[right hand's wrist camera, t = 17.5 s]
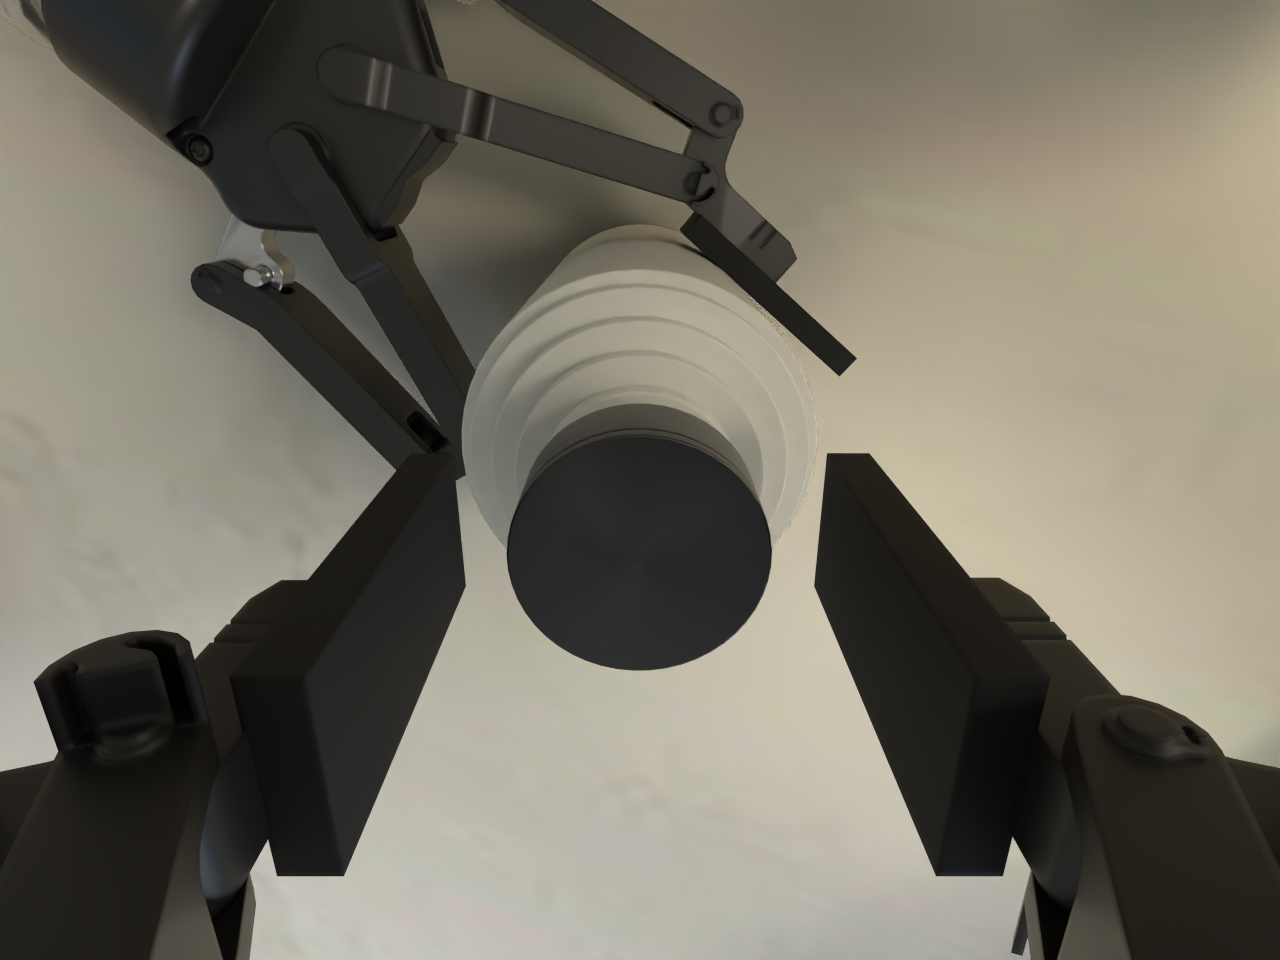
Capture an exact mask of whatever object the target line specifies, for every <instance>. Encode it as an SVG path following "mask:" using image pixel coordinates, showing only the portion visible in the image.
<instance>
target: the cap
mask: <svg viewBox="0 0 1280 960" xmlns="http://www.w3.org/2000/svg"><path fill="white" fill-rule="evenodd" d="M771 558H772V546H771V535H770V531H769V527H768V523H767V519H766V516H765V513H764V511H763V508H762V505H761V502H760V500H759V497H758V494H757V491H756V489H755V486H754V483H753V480H752V478H751V475H750V473H749V471H748V468H747V466H746V464H745V463H744V461H743V459H742V457H741V456H740V454H739V453H738V451H737V450H736V449H735V448H734V446H733V445H732V444H731V443H730V442H729V441H728V440H727V439H726V438H725V437H724V436H723V435H722V434H721V433H720V432H719V431H718V430H716V429H715V428H713V427H712V426H711V425H709V424H708V423H707V422H705V421H703V420H701V419H699V418H697V417H696V416H694V415H692V414H689V413H686V412H684V411H681V410H679V409H675V408H671V407H667V406H663V405H655V404H646V403H644V404H624V405H617V406H611V407H608V408H604V409H600V410H597V411H595V412H592V413H590V414H588V415H585V416H583V417H581V418H579V419H578V420H576V421H574V422H572V423H571V424H569V425H568V426H566V427H565V428H564V429H563V430H561V431H560V432H559V433H557V434H556V435H555V436H554V437H553V438H552V439H551V440H550V441H549V442H548V444H547V445H546V446H545V447H544V448H543V450H542V451H541V453H540V454H539V455H538V457H537V458H536V460H535V462H534V464H533V466H532V468H531V469H530V472H529V475H528V477H527V480H526V483H525V486H524V488H523V491H522V494H521V496H520V499H519V502H518V505H517V507H516V510H515V513H514V515H513V518H512V521H511V524H510V529H509V534H508V539H507V563H508V571H509V575H510V579H511V584H512V586H513V589H514V591H515V594H516V596H517V599H518V601H519V602H520V604H521V606H522V608H523V609H524V611H525V613H526V614H527V615H528V617H529V618H530V619H531V621H532V622H533V623H534V625H535V626H536V627H537V628H538V629H539V630H540V631H541V632H542V633H543V634H544V635H545V636H546V637H548V638H549V639H550V640H551V641H553V642H554V643H555V644H556V645H558V646H559V647H561V648H563V649H564V650H566V651H567V652H569V653H571V654H573V655H575V656H577V657H579V658H581V659H584V660H586V661H589V662H592V663H595V664H598V665H601V666H605V667H610V668H615V669H623V670H656V669H664V668H669V667H673V666H677V665H681V664H684V663H687V662H690V661H692V660H695V659H698V658H700V657H702V656H704V655H706V654H708V653H710V652H711V651H713V650H715V649H716V648H718V647H719V646H721V645H722V644H724V643H725V642H726V641H727V640H729V639H730V638H731V637H732V636H733V635H734V634H736V633H737V632H738V631H739V629H740V628H741V627H742V626H743V625H744V624H745V623H746V622H747V620H748V619H749V618H750V616H751V615H752V613H753V612H754V611H755V609H756V607H757V605H758V603H759V602H760V600H761V598H762V596H763V593H764V591H765V588H766V585H767V582H768V578H769V573H770V568H771Z"/></svg>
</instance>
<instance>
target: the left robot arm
mask: <svg viewBox="0 0 1280 960" xmlns="http://www.w3.org/2000/svg"><path fill="white" fill-rule="evenodd" d="M457 1H459V2H460V3H463V4H470V5H472V4H475V3H478V2H479V1H480V0H457ZM495 1H496V2H497V3H498V4H499V5H500V6H501V7H502V8H504V9H505V10H506V11H507V12H508V13H510V14H511V15H512V16H514V17H515V18H517V19H518V20H519V21H521V22H522V23H524V24H525V25H527V26H529V27H530V28H532V29H533V30H535V31H536V32H538V33H540V34H541V35H543V36H544V37H546V38H547V39H549V40H551V41H552V42H554V43H555V44H557V45H558V46H560V47H562V48H563V49H565V50H566V51H568V52H569V53H571V54H572V55H574V56H576V57H577V58H579V59H580V60H582V61H583V62H585V63H587V64H588V65H590V66H591V67H593V68H594V69H596V70H598V71H599V72H601V73H602V74H604V75H605V76H607V77H609V78H610V79H612V80H613V81H615V82H616V83H618V84H620V85H621V86H623V87H624V88H626V89H627V90H629V91H631V92H632V93H634V94H635V95H637V96H638V97H640V98H642V99H643V100H645V101H646V102H648V103H649V104H651V105H653V106H654V107H656V108H657V109H659V110H660V111H662V112H664V113H665V114H667V115H668V116H670V117H671V118H673V119H674V120H676V121H678V122H679V123H681V124H682V125H684V126H685V127H687V128H689V129H690V133H689V136H688V139H687V142H686V144H685V147H684V150H683V153H682V155H681V154H678V153H674V152H671V151H668V150H665V149H662V148H658V147H655V146H652V145H649V144H646V143H643V142H639V141H636V140H633V139H630V138H627V137H623V136H620V135H617V134H614V133H611V132H607V131H604V130H601V129H598V128H595V127H592V126H588V125H585V124H582V123H579V122H576V121H572V120H569V119H566V118H563V117H560V116H556V115H553V114H550V113H547V112H544V111H541V110H537V109H534V108H531V107H528V106H525V105H521V104H518V103H515V102H512V101H509V100H505V99H502V98H499V97H496V96H493V95H490V94H487V93H484V92H481V91H478V90H475V89H472V88H469V87H466V86H463V85H460V84H457V83H453V82H450V81H448V79H447V76H446V72H445V69H444V66H443V62H442V59H441V56H440V52H439V49H438V46H437V42H436V39H435V36H434V32H433V29H432V26H431V22H430V19H429V16H428V12H427V9H426V6H425V2H424V0H0V16H1V17H3V18H4V19H5V20H6V21H8V22H9V23H10V24H11V25H13V26H14V27H15V28H16V29H18V30H19V31H20V32H22V33H23V34H24V35H26V36H27V37H28V38H30V39H31V40H32V41H34V42H35V43H36V44H38V45H41V46H44V47H47V48H50V49H52V50H54V51H55V52H56V54H57V55H58V57H59V58H60V60H61V61H62V62H63V63H64V64H65V65H66V66H67V67H68V68H69V69H70V70H71V71H72V72H74V73H75V74H76V75H77V76H79V77H80V78H81V79H83V80H84V81H85V82H87V83H88V84H89V85H90V86H92V87H93V88H94V89H96V90H97V91H98V92H99V93H101V94H102V95H103V96H105V97H106V98H107V99H108V100H110V101H111V102H112V103H114V104H115V105H116V106H117V107H119V108H120V109H121V110H123V111H124V112H125V113H126V114H128V115H129V116H130V117H132V118H133V119H134V120H135V121H137V122H138V123H139V124H141V125H142V126H143V127H144V128H146V129H147V130H148V131H150V132H151V133H152V134H154V135H155V136H156V137H157V138H159V139H160V140H161V141H163V142H164V143H165V144H166V145H168V146H169V147H170V148H172V149H173V150H174V151H176V152H177V153H179V154H180V155H181V156H183V157H184V158H186V159H187V160H189V161H190V162H191V163H193V164H194V165H196V166H197V167H198V168H199V169H201V170H202V171H203V172H204V173H205V174H206V176H207V177H208V178H209V179H210V180H211V182H212V183H213V185H214V186H215V188H216V189H217V191H218V193H219V194H220V196H221V198H222V200H223V202H224V204H225V205H226V207H227V208H228V210H229V211H230V212H231V213H232V216H231V218H230V221H229V223H228V226H227V229H226V231H225V234H224V237H223V239H222V242H221V245H220V247H219V250H218V252H217V255H216V258H215V260H214V261H213V262H211V263H206V264H202V265H200V266H198V267H196V268H195V270H194V271H193V273H192V275H191V285H192V288H193V290H194V292H195V293H196V295H197V296H198V297H199V298H200V299H202V300H203V301H204V302H206V303H208V304H210V305H212V306H213V307H215V308H217V309H219V310H221V311H223V312H225V313H226V314H228V315H230V316H232V317H234V318H236V319H237V320H239V321H241V322H243V323H245V324H247V325H249V326H250V327H252V328H254V329H256V330H257V331H258V332H259V333H260V334H261V335H262V336H263V337H264V338H265V339H266V340H267V341H268V342H269V343H270V344H271V345H272V346H273V347H274V348H275V349H276V350H277V351H278V352H279V353H280V354H281V355H282V356H283V357H284V358H285V359H286V360H287V361H288V362H289V363H290V364H291V365H292V366H293V367H294V368H295V369H296V370H297V371H298V372H299V373H300V374H301V375H302V376H303V377H304V378H305V379H306V380H307V381H308V382H309V383H310V384H311V385H312V386H313V387H314V388H315V389H316V390H317V391H318V392H319V393H320V394H321V395H322V396H323V397H324V398H325V399H326V400H327V401H328V402H329V403H330V404H331V405H332V406H333V407H334V408H335V409H336V410H337V411H338V412H339V413H340V414H341V415H342V416H343V417H344V418H345V419H346V420H347V421H348V422H349V423H350V424H351V425H352V426H353V427H354V428H355V429H356V430H357V431H358V432H359V433H360V434H361V435H362V436H363V437H364V438H365V439H366V440H367V441H368V442H369V443H370V444H371V445H372V446H373V447H374V448H375V449H376V450H377V451H378V452H379V453H380V454H381V455H382V456H383V457H384V458H385V459H386V460H387V461H388V462H389V463H390V464H391V465H392V466H393V467H394V468H395V469H396V470H398V468H399V467H400V466H401V465H402V464H403V462H404V461H405V460H406V459H407V457H408V456H409V455H410V454H411V453H453V460H454V471H455V481H456V480H458V479H459V478H461V477H463V476H465V475H466V471H465V466H464V460H463V454H462V423H463V413H464V407H465V403H466V399H467V395H468V391H469V387H470V384H471V382H472V380H473V377H474V375H475V372H476V371H475V369H474V367H473V366H472V364H471V362H470V360H469V359H468V357H467V355H466V353H465V352H464V350H463V348H462V346H461V344H460V343H459V341H458V339H457V337H456V336H455V334H454V332H453V330H452V328H451V327H450V325H449V323H448V321H447V320H446V318H445V316H444V314H443V312H442V311H441V309H440V307H439V305H438V304H437V302H436V300H435V298H434V296H433V295H432V293H431V291H430V289H429V288H428V286H427V284H426V282H425V280H424V279H423V277H422V275H421V273H420V272H419V270H418V268H417V266H416V264H415V262H414V260H413V253H412V250H411V247H410V245H409V243H408V241H407V240H406V238H405V236H404V234H403V232H402V231H401V229H400V227H399V225H398V224H402V223H403V221H404V220H405V218H406V217H407V215H408V214H409V213H410V211H411V210H412V208H413V207H414V205H415V203H416V200H417V197H418V195H419V192H420V189H421V186H422V183H423V181H424V179H425V178H426V177H427V176H429V175H430V174H431V173H432V172H434V171H435V170H436V169H437V168H439V167H440V166H441V165H442V164H444V162H445V161H446V159H447V158H448V157H449V155H450V154H451V152H452V151H453V149H454V148H455V147H456V145H457V144H458V143H457V142H456V141H454V139H455V136H456V133H458V134H461V135H465V136H468V137H471V138H475V139H478V140H482V141H485V142H488V143H492V144H495V145H498V146H502V147H505V148H508V149H511V150H515V151H518V152H521V153H524V154H528V155H531V156H534V157H537V158H541V159H544V160H547V161H550V162H554V163H557V164H560V165H563V166H567V167H570V168H573V169H576V170H580V171H583V172H586V173H589V174H593V175H596V176H599V177H602V178H606V179H609V180H612V181H615V182H619V183H622V184H625V185H629V186H632V187H635V188H638V189H642V190H645V191H648V192H651V193H655V194H658V195H661V196H664V197H668V198H671V199H674V200H677V201H681V202H684V203H686V204H687V205H688V206H689V207H690V208H691V209H692V210H693V211H694V213H693V214H692V215H691V216H690V218H689V219H688V220H687V221H686V222H685V224H684V225H683V226H682V227H681V228H680V230H681V232H682V233H683V235H684V236H685V237H686V238H687V239H688V240H690V241H691V242H692V243H693V244H694V245H695V246H696V247H697V248H698V249H699V250H701V251H702V252H703V253H704V254H705V255H706V256H707V257H708V258H709V259H710V260H712V261H713V262H714V263H715V264H716V265H717V266H718V267H719V268H720V269H721V270H723V271H724V272H725V273H726V274H727V275H728V276H729V277H730V278H731V279H733V280H734V281H735V282H736V283H737V284H738V285H739V286H740V287H741V288H742V289H744V290H745V291H746V292H747V293H748V294H749V295H750V296H751V297H752V298H753V299H755V300H756V301H757V302H758V303H759V304H760V305H761V306H762V307H763V308H765V309H766V310H767V311H768V312H769V313H770V314H771V315H772V316H773V317H774V318H776V319H777V320H778V321H779V322H780V323H781V324H782V325H783V326H784V327H785V328H787V329H788V330H789V331H790V332H791V333H792V334H793V335H794V336H795V337H797V338H798V339H799V340H800V341H801V342H802V343H803V344H804V345H805V346H806V347H808V348H809V349H810V350H811V351H812V352H813V353H814V354H815V355H816V356H817V357H819V358H820V359H821V360H822V361H823V362H824V363H825V364H826V365H827V366H828V367H830V368H831V369H832V370H833V371H834V372H835V373H836V374H837V375H838V376H840V375H841V374H842V373H843V372H844V371H845V370H846V369H847V368H848V367H849V366H850V365H851V364H852V363H853V362H854V361H855V360H856V359H857V358H856V357H855V356H854V355H853V354H852V353H850V352H849V351H848V350H847V349H846V348H845V347H844V346H843V345H842V344H841V343H840V342H839V341H837V340H836V339H835V338H834V337H833V336H832V335H831V334H830V333H829V332H828V331H827V330H826V329H824V328H823V327H822V326H821V325H820V324H819V323H818V322H817V321H816V320H815V319H814V318H812V317H811V316H810V315H809V314H808V313H807V312H806V311H805V310H804V309H803V308H802V307H801V306H799V305H798V304H797V303H796V302H795V301H794V300H793V299H792V298H791V297H790V296H789V295H788V294H786V293H785V292H784V291H783V290H782V289H781V288H780V287H779V286H778V285H777V284H776V282H777V281H778V280H779V279H780V278H781V276H782V275H783V274H784V273H785V272H786V271H787V270H788V269H789V267H790V266H791V265H792V264H793V263H794V262H795V261H796V260H797V257H796V255H795V253H794V251H793V248H792V246H791V244H790V242H789V241H788V240H787V239H786V238H785V237H784V236H783V235H781V234H780V233H779V232H778V231H777V230H776V229H775V228H774V227H773V226H772V225H771V224H770V223H769V222H768V221H767V220H765V218H763V217H762V216H761V215H760V214H759V213H758V212H757V211H756V210H755V209H754V208H753V207H752V206H751V205H750V204H749V203H748V202H747V201H746V200H744V199H743V198H742V197H741V196H740V195H739V194H738V193H737V192H736V191H735V190H734V189H733V188H732V187H731V185H730V184H729V182H728V180H727V178H726V173H725V163H726V159H727V156H728V153H729V151H730V148H731V145H732V143H733V140H734V138H735V135H736V132H737V130H738V128H739V127H740V126H741V123H742V120H743V107H742V104H741V102H740V100H739V99H738V98H737V97H736V96H735V95H734V94H733V93H732V92H730V91H729V90H727V89H726V88H724V87H723V86H721V85H720V84H718V83H717V82H715V81H713V80H712V79H710V78H709V77H707V76H706V75H704V74H703V73H701V72H700V71H698V70H697V69H695V68H694V67H692V66H691V65H689V64H688V63H686V62H685V61H683V60H681V59H680V58H678V57H677V56H675V55H674V54H672V53H671V52H669V51H668V50H666V49H665V48H663V47H662V46H660V45H659V44H657V43H656V42H654V41H652V40H651V39H649V38H648V37H646V36H645V35H643V34H642V33H640V32H639V31H637V30H636V29H634V28H633V27H631V26H630V25H628V24H627V23H625V22H623V21H622V20H620V19H619V18H617V17H616V16H614V15H613V14H611V13H610V12H608V11H607V10H605V9H604V8H602V7H601V6H599V5H598V4H596V3H595V2H593V1H591V0H495ZM276 230H278V231H290V232H303V233H315V234H319V236H320V237H321V239H322V241H323V242H324V244H325V246H326V247H327V249H328V251H329V252H330V254H331V256H332V257H333V259H334V261H335V262H336V264H337V266H338V267H339V269H340V271H341V272H342V274H343V275H344V276H345V278H346V279H347V280H348V281H349V282H351V283H352V284H354V285H355V286H356V287H357V288H358V289H359V291H360V292H361V294H362V295H363V297H364V299H365V300H366V302H367V304H368V305H369V307H370V309H371V310H372V312H373V314H374V315H375V317H376V319H377V321H378V322H379V324H380V326H381V327H382V329H383V331H384V332H385V334H386V336H387V337H388V339H389V341H390V342H391V344H392V346H393V347H394V349H395V351H396V352H397V354H398V356H399V357H400V359H401V361H402V362H403V364H404V366H405V367H406V369H407V371H408V372H409V374H410V376H411V377H412V379H413V381H414V382H415V384H416V386H417V388H418V389H419V391H420V393H421V394H422V396H423V398H424V399H425V401H426V403H427V404H428V406H429V408H430V409H431V411H432V413H433V414H434V416H435V418H436V419H437V421H438V423H439V424H440V425H439V424H438V423H437V422H436V421H435V420H434V419H433V418H432V417H431V416H430V415H429V414H428V413H427V412H426V411H425V410H424V409H423V408H422V407H421V405H420V404H419V403H418V402H417V401H416V400H415V399H414V398H413V397H412V396H411V395H410V394H409V393H408V392H407V391H406V390H405V389H404V388H403V387H402V385H401V384H400V383H399V382H398V381H397V380H396V379H395V378H394V377H393V376H392V375H391V374H390V373H389V372H388V371H387V370H386V369H385V368H384V367H383V366H382V364H381V363H380V362H379V361H378V360H377V359H376V358H375V357H374V356H373V355H372V354H371V353H370V352H369V351H368V350H367V349H366V348H365V347H364V346H363V344H362V343H361V342H360V341H359V340H358V339H357V338H356V337H355V336H354V335H353V334H352V333H351V332H350V331H349V330H348V329H347V328H346V327H345V326H344V324H343V323H342V322H341V321H340V320H339V319H338V318H337V317H336V316H335V315H334V314H333V313H332V312H331V311H330V310H329V309H328V308H327V307H326V306H325V305H324V304H323V303H322V302H321V301H320V300H319V299H318V298H317V297H316V296H315V295H314V294H313V293H311V292H310V291H309V290H307V289H306V288H305V287H304V286H302V285H301V284H299V283H298V282H296V281H294V280H295V269H294V266H293V264H292V263H291V262H290V260H289V259H287V258H286V257H285V256H284V255H283V254H282V253H281V252H280V250H279V249H278V247H277V245H276V242H275V232H276Z"/></svg>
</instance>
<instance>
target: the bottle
mask: <svg viewBox="0 0 1280 960" xmlns="http://www.w3.org/2000/svg"><path fill="white" fill-rule="evenodd" d="M644 403H646V404H655V405H663V406H667V407H671V408H675V409H679V410H681V411H684V412H686V413H689V414H692V415H694V416H696V417H697V418H699V419H701V420H703V421H705V422H707V423H708V424H709V425H711V426H712V427H713V428H715V429H716V430H718V431H719V432H720V433H721V434H722V435H723V436H724V437H725V438H726V439H727V440H728V441H729V442H730V443H731V444H732V445H733V446H734V448H735V449H736V450H737V451H738V453H739V454H740V456H741V457H742V459H743V461H744V463H745V464H746V466H747V468H748V471H749V473H750V475H751V478H752V480H753V483H754V486H755V489H756V491H757V494H758V497H759V500H760V502H761V505H762V508H763V511H764V513H765V516H766V519H767V523H768V527H769V531H770V535H771V546H772V549H773V548H774V546H775V545H776V544H777V543H778V541H779V540H780V539H781V538H782V536H783V535H784V534H785V533H786V532H787V530H788V529H789V527H790V525H791V524H792V522H793V520H794V519H795V517H796V516H797V514H798V512H799V510H800V508H801V506H802V503H803V501H804V499H805V497H806V495H807V492H808V489H809V485H810V482H811V479H812V475H813V472H814V466H815V459H816V453H817V423H816V415H815V407H814V403H813V399H812V395H811V392H810V388H809V384H808V382H807V380H806V377H805V375H804V373H803V370H802V368H801V366H800V363H799V362H798V360H797V358H796V357H795V355H794V353H793V352H792V350H791V349H790V347H789V345H788V344H787V342H786V341H785V340H784V339H783V337H782V336H781V335H780V334H779V333H778V331H777V330H776V329H775V328H774V326H773V325H772V324H771V323H770V322H769V321H768V319H767V318H766V317H765V316H764V315H763V314H762V312H761V311H760V310H759V309H758V308H757V307H756V305H755V304H754V303H753V302H752V301H751V300H750V299H749V297H748V296H747V295H746V294H745V293H744V292H743V290H742V289H741V288H740V287H739V286H738V285H737V283H736V282H735V281H734V280H733V279H731V278H730V277H729V276H728V275H727V274H726V273H725V272H724V271H723V270H721V269H720V268H719V267H718V266H717V265H716V264H715V263H714V262H713V261H712V260H710V259H709V258H708V257H707V256H706V255H705V254H704V253H703V252H702V251H701V250H699V249H698V248H697V247H696V246H695V245H694V244H693V243H692V242H691V241H690V240H688V239H687V238H686V237H685V236H684V235H683V234H682V233H680V232H677V231H674V230H671V229H668V228H665V227H660V226H655V225H644V224H635V225H624V226H619V227H615V228H611V229H608V230H605V231H603V232H600V233H598V234H596V235H594V236H592V237H590V238H588V239H586V240H585V241H584V242H582V243H581V244H580V245H578V246H577V247H575V248H574V249H573V250H572V251H571V252H570V253H569V254H568V255H567V256H566V257H565V258H564V259H563V260H562V262H561V263H560V264H559V265H558V266H557V267H556V269H555V270H554V271H553V272H552V273H551V274H550V275H549V277H548V278H547V279H546V280H545V281H544V282H543V283H542V285H541V286H540V287H539V288H538V289H537V290H536V292H535V293H534V294H533V295H532V296H531V297H530V298H529V300H528V301H527V302H526V303H525V304H524V305H523V307H522V308H521V309H520V310H519V311H518V312H517V313H516V315H515V316H514V317H513V318H512V319H511V320H510V321H509V323H508V324H507V325H506V326H505V327H504V329H503V330H502V331H501V332H500V334H499V335H498V336H497V337H496V339H495V340H494V341H493V342H492V344H491V345H490V346H489V348H488V350H487V352H486V353H485V355H484V357H483V358H482V360H481V362H480V363H479V365H478V367H477V370H476V372H475V375H474V377H473V380H472V382H471V384H470V387H469V391H468V395H467V399H466V403H465V407H464V413H463V423H462V454H463V460H464V466H465V471H466V476H467V479H468V482H469V485H470V489H471V492H472V495H473V497H474V499H475V501H476V503H477V506H478V508H479V510H480V512H481V514H482V516H483V517H484V519H485V521H486V522H487V524H488V525H489V527H490V528H491V530H492V531H493V533H494V534H495V535H496V537H497V538H498V539H499V540H500V541H501V543H502V544H503V545H504V546H505V547H506V549H507V539H508V534H509V529H510V524H511V521H512V518H513V515H514V513H515V510H516V507H517V505H518V502H519V499H520V496H521V494H522V491H523V488H524V486H525V483H526V480H527V477H528V475H529V472H530V469H531V468H532V466H533V464H534V462H535V460H536V458H537V457H538V455H539V454H540V453H541V451H542V450H543V448H544V447H545V446H546V445H547V444H548V442H549V441H550V440H551V439H552V438H553V437H554V436H555V435H556V434H557V433H559V432H560V431H561V430H563V429H564V428H565V427H566V426H568V425H569V424H571V423H572V422H574V421H576V420H578V419H579V418H581V417H583V416H585V415H588V414H590V413H592V412H595V411H597V410H600V409H604V408H608V407H611V406H617V405H624V404H644Z"/></svg>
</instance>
